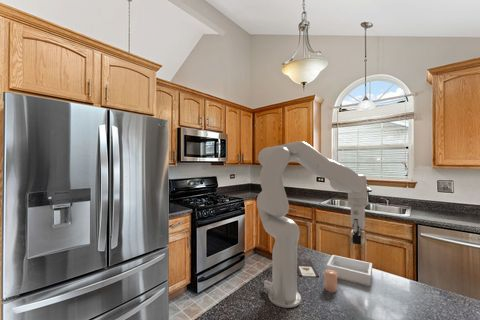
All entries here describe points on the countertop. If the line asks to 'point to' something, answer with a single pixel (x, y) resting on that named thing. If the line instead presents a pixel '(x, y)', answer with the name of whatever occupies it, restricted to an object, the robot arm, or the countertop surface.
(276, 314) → the countertop surface
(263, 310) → the countertop surface
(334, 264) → the tote
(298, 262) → the chocolate bar
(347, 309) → the countertop surface
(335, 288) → the terracotta cylinder
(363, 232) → the wood cube
